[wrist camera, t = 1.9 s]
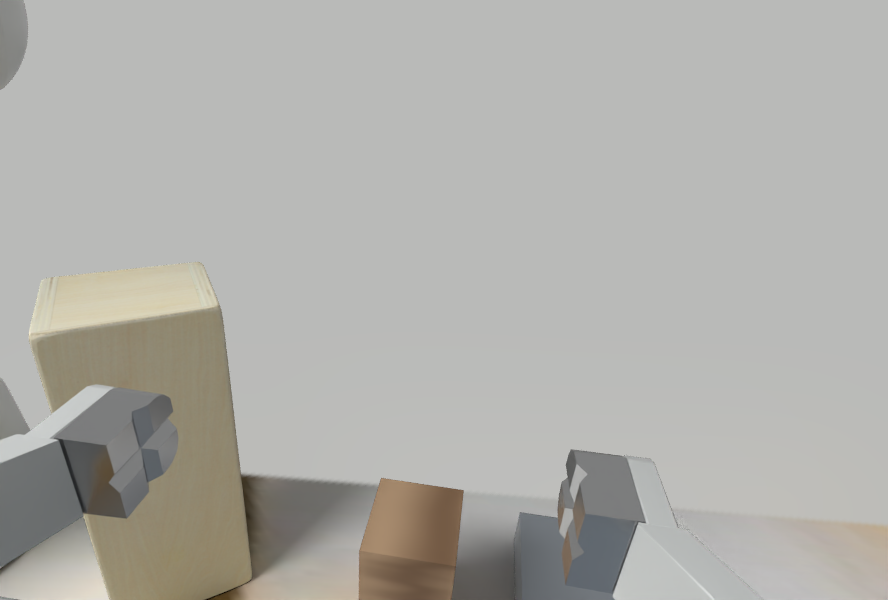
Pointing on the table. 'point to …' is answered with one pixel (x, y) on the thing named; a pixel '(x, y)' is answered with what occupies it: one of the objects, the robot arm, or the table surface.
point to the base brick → (543, 562)
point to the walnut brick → (410, 542)
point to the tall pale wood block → (194, 415)
